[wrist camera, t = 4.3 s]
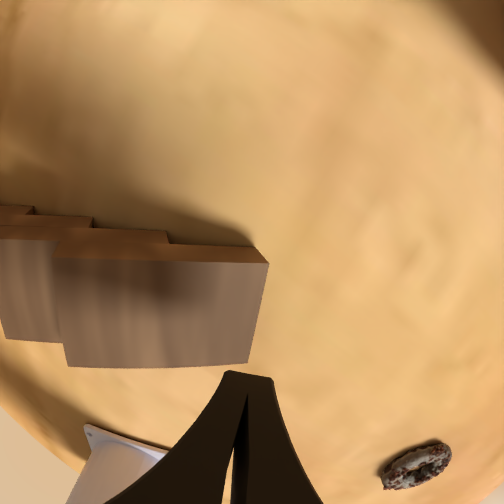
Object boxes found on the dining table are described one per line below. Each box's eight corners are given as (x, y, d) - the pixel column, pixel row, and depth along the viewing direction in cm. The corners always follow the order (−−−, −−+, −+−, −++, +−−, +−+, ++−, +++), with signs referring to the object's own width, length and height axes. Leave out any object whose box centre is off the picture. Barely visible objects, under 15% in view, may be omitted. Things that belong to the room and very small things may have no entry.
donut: (465, 448, 19) (471, 465, 17) (392, 488, 21) (396, 504, 20) (438, 417, 17) (446, 438, 15) (349, 465, 20) (351, 486, 18)
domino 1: (87, 228, 12) (-55, 224, 9) (92, 324, 14) (-37, 313, 11) (93, 216, 14) (-41, 213, 11) (95, 306, 16) (-27, 298, 13)
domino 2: (169, 244, 12) (-15, 238, 9) (164, 344, 14) (6, 338, 11) (165, 230, 14) (-1, 225, 11) (160, 325, 15) (14, 319, 13)
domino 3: (269, 263, 12) (51, 257, 9) (247, 363, 14) (67, 366, 11) (255, 247, 14) (60, 239, 11) (237, 341, 15) (72, 342, 12)
